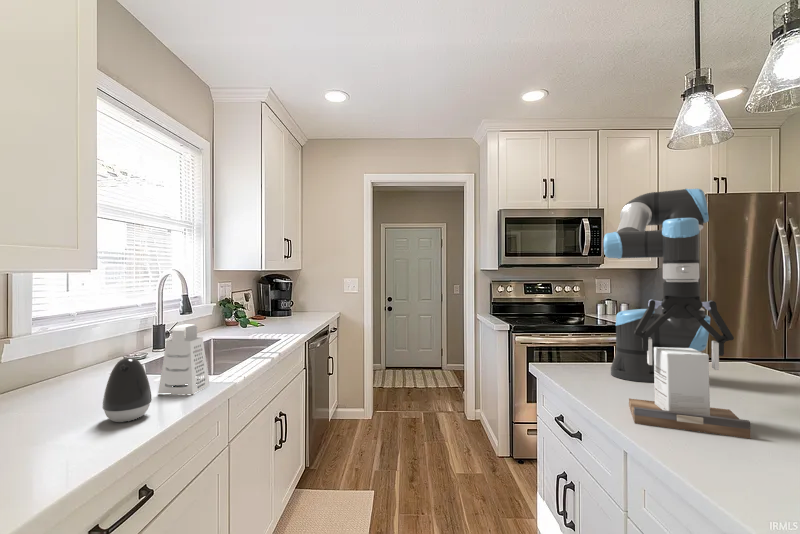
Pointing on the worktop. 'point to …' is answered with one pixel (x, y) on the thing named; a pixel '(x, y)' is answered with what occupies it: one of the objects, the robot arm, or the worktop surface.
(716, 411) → the shelf board
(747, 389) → the worktop surface
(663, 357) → the supplement box
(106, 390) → the black egg-shaped figure
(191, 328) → the grater
